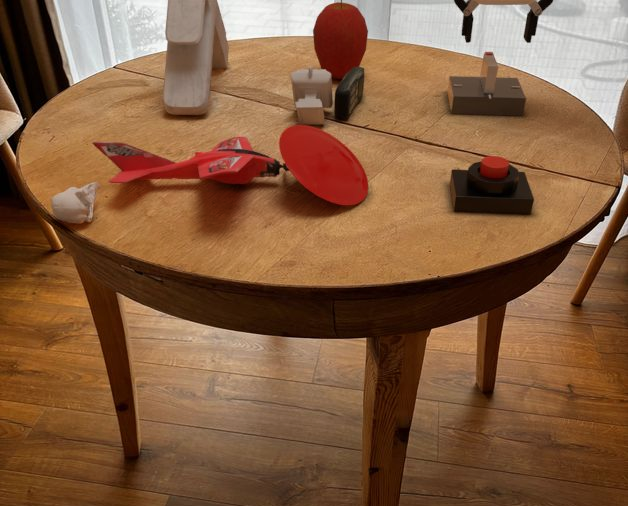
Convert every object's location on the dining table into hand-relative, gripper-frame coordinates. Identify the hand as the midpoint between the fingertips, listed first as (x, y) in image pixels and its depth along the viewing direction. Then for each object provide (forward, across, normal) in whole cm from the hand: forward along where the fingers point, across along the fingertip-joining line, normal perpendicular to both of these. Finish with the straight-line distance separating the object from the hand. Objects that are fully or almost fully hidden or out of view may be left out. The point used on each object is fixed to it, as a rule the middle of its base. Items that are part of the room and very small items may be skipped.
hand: (497, 40), depth 110 cm
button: (+7, -4, -35) cm, 36 cm away
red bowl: (+6, -26, -34) cm, 43 cm away
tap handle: (+8, -1, 0) cm, 8 cm away
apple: (+10, -27, +12) cm, 31 cm away
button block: (+11, -4, -35) cm, 36 cm away
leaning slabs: (+10, -52, +4) cm, 53 cm away
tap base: (+11, -1, 0) cm, 11 cm away
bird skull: (+10, -57, -43) cm, 72 cm away
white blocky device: (+4, -30, -5) cm, 31 cm away
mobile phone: (+10, -24, -2) cm, 26 cm away
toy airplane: (+10, -44, -35) cm, 57 cm away
